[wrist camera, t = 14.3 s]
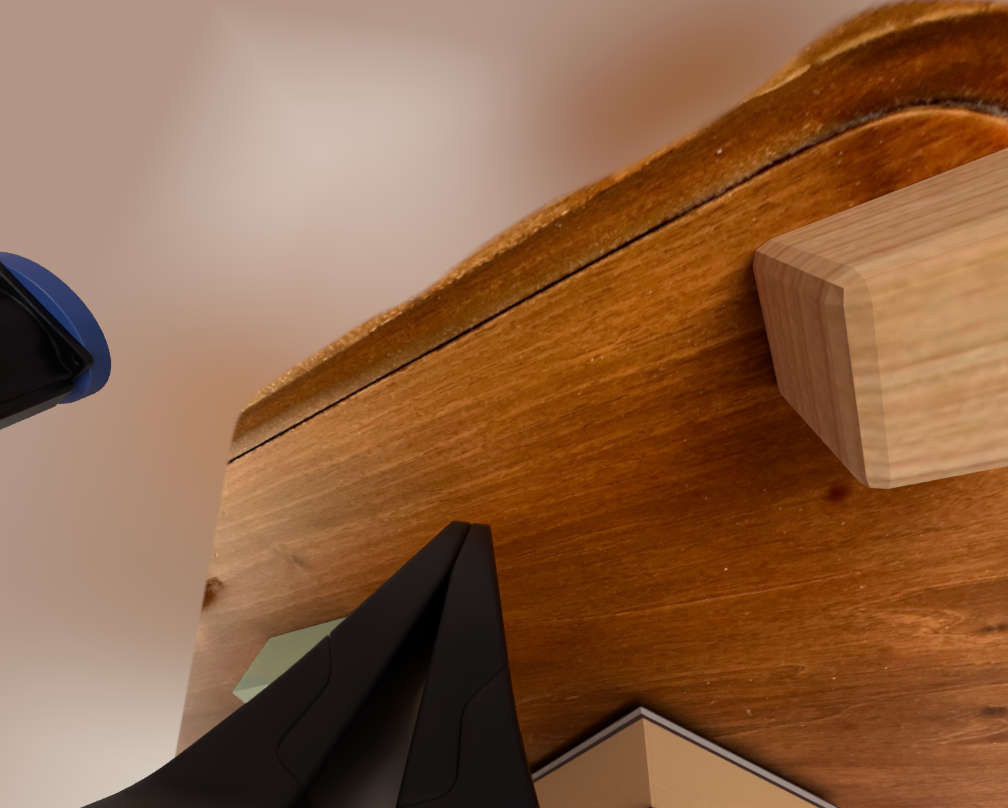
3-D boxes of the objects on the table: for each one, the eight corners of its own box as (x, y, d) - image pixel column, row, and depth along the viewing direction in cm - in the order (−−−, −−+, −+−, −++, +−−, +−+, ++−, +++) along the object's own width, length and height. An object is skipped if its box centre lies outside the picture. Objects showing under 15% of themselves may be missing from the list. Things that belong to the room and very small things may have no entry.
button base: (269, 637, 34) (211, 720, 29) (359, 612, 30) (311, 703, 25) (361, 721, 38) (324, 808, 33) (451, 708, 34) (426, 804, 29)
